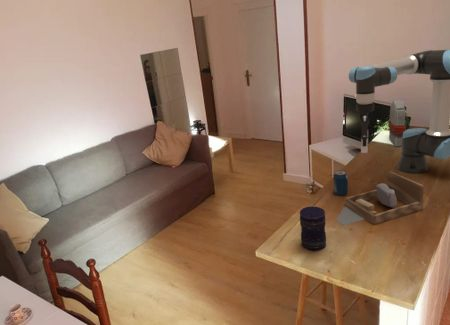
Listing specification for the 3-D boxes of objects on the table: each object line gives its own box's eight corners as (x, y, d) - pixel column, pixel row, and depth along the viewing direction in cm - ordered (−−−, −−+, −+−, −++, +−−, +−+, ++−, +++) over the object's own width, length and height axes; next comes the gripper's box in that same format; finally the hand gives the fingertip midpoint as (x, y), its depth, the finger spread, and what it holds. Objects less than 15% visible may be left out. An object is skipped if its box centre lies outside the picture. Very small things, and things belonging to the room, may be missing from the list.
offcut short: (360, 203, 161) (360, 198, 160) (373, 210, 154) (373, 205, 153) (355, 205, 160) (355, 200, 159) (368, 211, 153) (368, 207, 152)
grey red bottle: (404, 147, 229) (407, 102, 219) (394, 147, 231) (396, 103, 221) (397, 138, 247) (399, 97, 237) (387, 139, 249) (389, 98, 239)
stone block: (374, 201, 166) (374, 182, 163) (384, 200, 166) (384, 181, 163) (387, 213, 155) (388, 193, 152) (397, 211, 155) (398, 191, 152)
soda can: (350, 192, 178) (350, 171, 174) (343, 197, 174) (343, 176, 170) (337, 189, 183) (337, 168, 179) (331, 194, 179) (330, 173, 175)
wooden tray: (388, 192, 173) (389, 170, 169) (421, 209, 154) (423, 185, 150) (344, 205, 166) (344, 183, 162) (373, 224, 148) (374, 199, 144)
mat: (342, 205, 167) (342, 204, 167) (364, 219, 152) (364, 219, 152) (323, 210, 164) (323, 210, 164) (343, 225, 150) (343, 225, 150)
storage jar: (303, 236, 146) (302, 205, 141) (327, 239, 142) (326, 207, 137) (299, 250, 137) (297, 217, 132) (324, 253, 134) (323, 219, 128)
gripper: (357, 97, 164) (357, 139, 172) (354, 109, 143) (354, 156, 150) (374, 96, 161) (373, 139, 169) (374, 108, 140) (373, 157, 147)
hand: (364, 147), depth 159 cm, fingers open, 13 cm apart
